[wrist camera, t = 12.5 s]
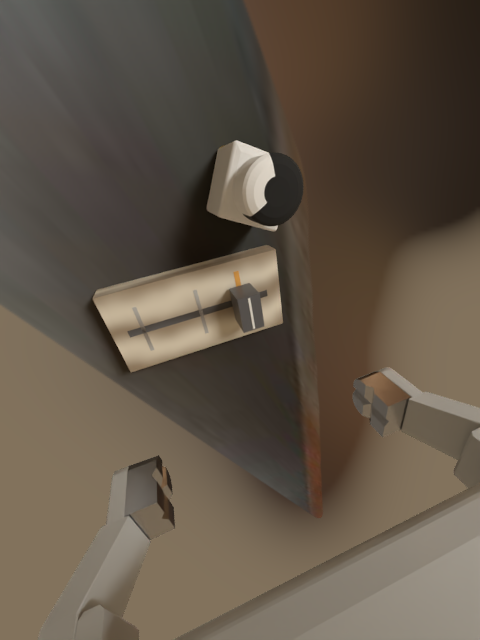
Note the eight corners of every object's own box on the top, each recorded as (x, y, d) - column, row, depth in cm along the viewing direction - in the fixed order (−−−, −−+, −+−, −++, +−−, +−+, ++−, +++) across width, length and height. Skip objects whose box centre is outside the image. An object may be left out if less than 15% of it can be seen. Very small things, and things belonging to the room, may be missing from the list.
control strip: (96, 289, 34) (92, 298, 31) (267, 244, 38) (275, 249, 35) (132, 360, 40) (130, 372, 37) (275, 314, 44) (283, 323, 41)
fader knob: (228, 288, 35) (237, 300, 32) (249, 282, 36) (259, 293, 32) (235, 319, 38) (244, 333, 34) (254, 313, 38) (264, 326, 35)
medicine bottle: (270, 166, 33) (324, 160, 23) (255, 223, 36) (297, 240, 26) (217, 146, 30) (251, 130, 20) (205, 210, 33) (230, 223, 23)
